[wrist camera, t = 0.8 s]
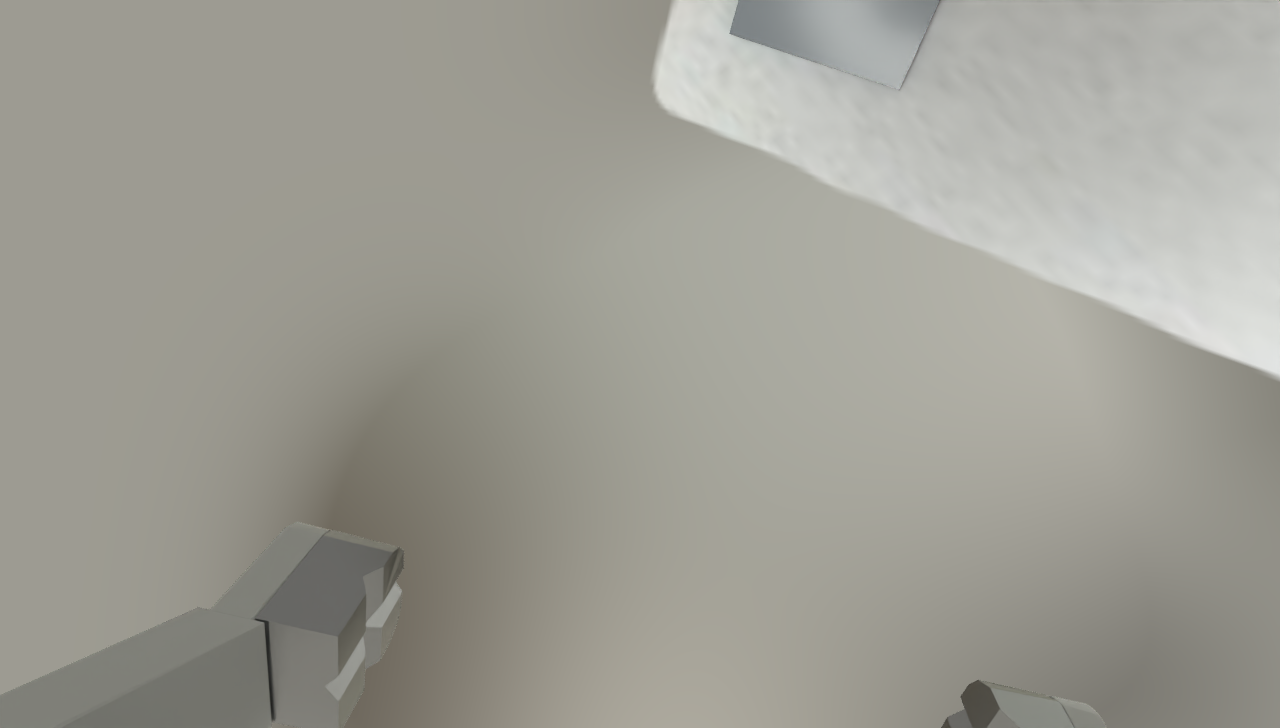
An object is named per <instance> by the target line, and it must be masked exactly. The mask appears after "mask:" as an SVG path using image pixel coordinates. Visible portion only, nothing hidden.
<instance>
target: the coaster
mask: <svg viewBox="0 0 1280 728" xmlns="http://www.w3.org/2000/svg"><path fill="white" fill-rule="evenodd" d="M939 1H940V0H739V2H738V5H737V9H736V12H735V16H734V19H733V23H732V27H731V30H730V34H732V35H735V36H738V37H741V38H744V39H747V40H750V41H753V42H756V43H759V44H762V45H765V46H768V47H771V48H774V49H777V50H780V51H783V52H786V53H789V54H792V55H795V56H798V57H801V58H804V59H807V60H810V61H813V62H816V63H819V64H822V65H825V66H828V67H831V68H834V69H837V70H840V71H843V72H846V73H849V74H852V75H855V76H858V77H861V78H864V79H867V80H870V81H873V82H876V83H879V84H882V85H885V86H888V87H891V88H894V89H897V90H900V87H901V85H902V83H903V81H904V79H905V76H906V74H907V72H908V70H909V68H910V65H911V63H912V61H913V59H914V56H915V54H916V52H917V50H918V48H919V45H920V43H921V41H922V39H923V37H924V34H925V32H926V30H927V28H928V25H929V23H930V21H931V19H932V17H933V14H934V12H935V10H936V8H937V6H938V3H939Z"/></svg>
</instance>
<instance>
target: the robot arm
mask: <svg viewBox="0 0 1280 728" xmlns="http://www.w3.org/2000/svg"><path fill="white" fill-rule="evenodd" d="M403 569H404V550H403V549H401V548H400V547H397V546H393V545H389V544H385V543H381V542H377V541H374V540H369V539H366V538H362V537H358V536H354V535H350V534H346V533H343V532H338V531H335V530H328V529H324V528H320V527H316V526H313V525H309V524H304V523H301V522H295V523H293V524H292V525H290V526H288V527H286V528H284V530H283V531H282V532H281V533H280V534H279V535H278V536H277V537H276V538H275V539H274V540H273V541H272V543H271V544H270V545H269V546H268V547H267V548H266V549H265V550H264V551H263V552H262V553H261V555H260V556H259V557H258V558H257V559H256V560H255V561H254V562H253V563H252V564H251V566H249V568H248V569H247V570H246V571H245V572H244V573H243V574H242V575H241V577H239V578H238V580H237V581H236V582H235V583H234V584H233V585H232V586H231V587H230V588H229V589H228V590H227V591H226V593H225V594H224V595H223V596H222V597H221V598H220V599H219V600H218V601H217V602H216V604H215V605H214V606H213V607H212V608H211V609H204V608H200V607H198V608H196V609H193V610H191V611H189V612H187V613H184V614H182V615H180V616H178V617H175V618H173V619H171V620H168V621H166V622H164V623H162V624H160V625H157V626H155V627H153V628H150V629H148V630H146V631H144V632H141V633H139V634H137V635H135V636H133V637H130V638H128V639H126V640H123V641H121V642H119V643H117V644H114V645H112V646H110V647H108V648H105V649H103V650H101V651H99V652H97V653H94V654H92V655H90V656H87V657H85V658H83V659H81V660H78V661H76V662H74V663H72V664H69V665H67V666H65V667H63V668H60V669H58V670H56V671H54V672H51V673H49V674H47V675H45V676H42V677H40V678H38V679H35V680H33V681H31V682H29V683H26V684H24V685H22V686H20V687H18V688H15V689H13V690H11V691H8V692H6V693H4V694H2V695H0V728H271V727H272V722H273V723H278V724H283V725H288V726H293V727H298V728H343V726H344V725H345V723H346V721H347V719H348V717H349V716H350V714H351V712H352V710H353V709H354V707H355V705H356V703H357V701H358V699H359V698H360V696H361V694H362V692H363V691H364V682H365V681H364V680H365V669H367V668H368V667H370V666H372V665H373V664H375V663H376V662H378V661H380V660H381V658H382V656H383V654H384V652H385V650H386V649H387V647H388V645H389V643H390V641H391V638H392V635H393V633H394V630H395V627H396V625H397V622H398V618H399V613H400V609H401V604H402V603H401V602H402V590H401V589H400V588H399V586H398V585H397V583H396V580H397V579H398V577H399V575H400V574H401V572H402V570H403ZM961 699H962V703H963V706H964V710H962V711H960V712H957V713H956V714H953V715H951V716H949V717H947V719H946V720H945V722H944V724H943V726H942V727H941V728H1107V727H1106V725H1105V723H1104V722H1103V720H1102V718H1101V717H1100V715H1099V714H1098V713H1097V712H1096V711H1095V710H1094V709H1093V708H1092V707H1090V706H1089V705H1088V704H1085V703H1081V702H1076V701H1072V700H1067V699H1062V698H1058V697H1054V696H1046V695H1044V694H1040V693H1036V692H1031V691H1027V690H1022V689H1018V688H1013V687H1008V686H1004V685H999V684H995V683H990V682H986V681H981V680H977V681H975V682H973V683H971V684H969V685H968V686H967V688H966V689H965V691H964V692H963V694H962V695H961Z"/></svg>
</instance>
